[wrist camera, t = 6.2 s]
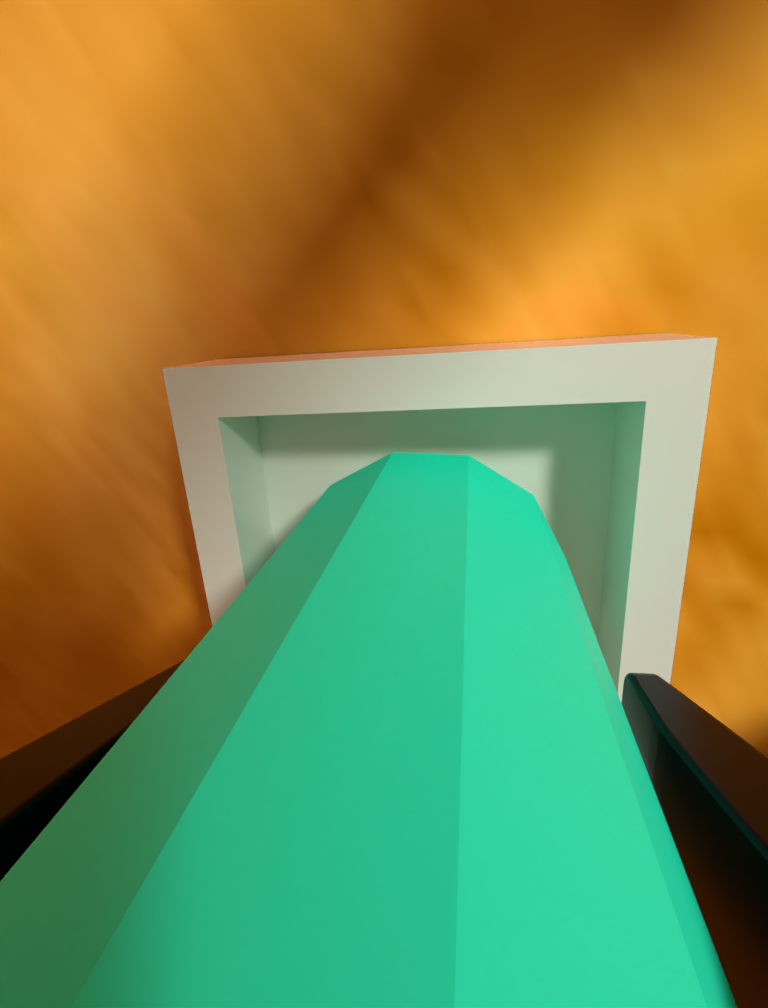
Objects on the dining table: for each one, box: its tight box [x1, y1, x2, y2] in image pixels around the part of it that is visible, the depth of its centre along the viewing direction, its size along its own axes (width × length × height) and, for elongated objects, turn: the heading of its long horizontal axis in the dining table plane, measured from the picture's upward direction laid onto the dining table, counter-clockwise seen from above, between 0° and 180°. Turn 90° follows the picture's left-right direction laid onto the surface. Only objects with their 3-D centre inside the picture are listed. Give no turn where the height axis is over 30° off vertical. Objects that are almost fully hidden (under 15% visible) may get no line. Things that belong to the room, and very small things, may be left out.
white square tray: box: [162, 333, 717, 704], centre depth 12 cm, size 10×11×3 cm
